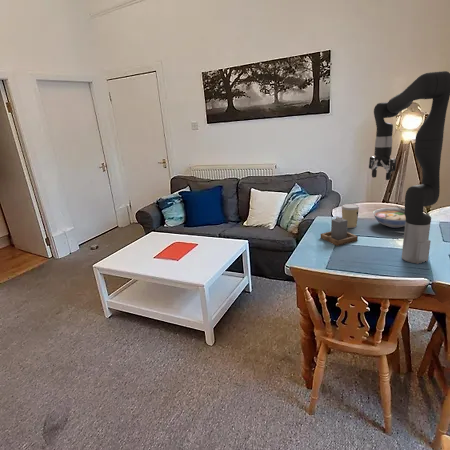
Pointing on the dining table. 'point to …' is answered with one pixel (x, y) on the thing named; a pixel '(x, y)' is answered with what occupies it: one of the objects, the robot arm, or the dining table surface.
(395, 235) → the dining table surface
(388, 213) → the ramen bowl
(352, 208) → the coffee cup
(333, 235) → the grey rectangular block
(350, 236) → the tray
